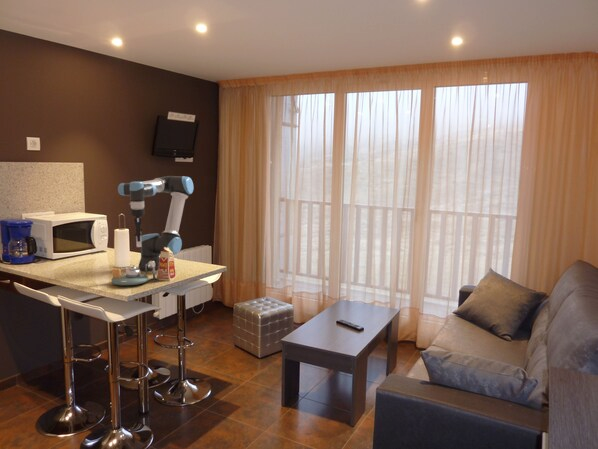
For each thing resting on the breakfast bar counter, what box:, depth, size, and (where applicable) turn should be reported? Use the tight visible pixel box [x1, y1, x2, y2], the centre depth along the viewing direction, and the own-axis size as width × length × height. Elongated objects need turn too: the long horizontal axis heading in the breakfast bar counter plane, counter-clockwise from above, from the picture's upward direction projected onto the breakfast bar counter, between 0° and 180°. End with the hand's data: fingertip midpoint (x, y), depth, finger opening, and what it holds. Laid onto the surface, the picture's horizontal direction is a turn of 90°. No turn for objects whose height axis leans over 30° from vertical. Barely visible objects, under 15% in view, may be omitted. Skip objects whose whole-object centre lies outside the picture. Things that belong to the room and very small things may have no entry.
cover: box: [125, 266, 141, 278], centre depth 269 cm, size 8×8×6 cm
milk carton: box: [156, 247, 177, 282], centre depth 278 cm, size 9×9×20 cm
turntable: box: [111, 268, 149, 286], centre depth 265 cm, size 20×20×6 cm
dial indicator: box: [145, 261, 160, 283], centre depth 271 cm, size 5×6×12 cm
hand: (139, 244), depth 268 cm, fingers open, 13 cm apart
